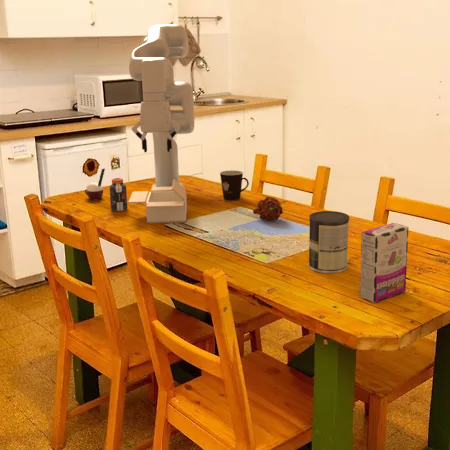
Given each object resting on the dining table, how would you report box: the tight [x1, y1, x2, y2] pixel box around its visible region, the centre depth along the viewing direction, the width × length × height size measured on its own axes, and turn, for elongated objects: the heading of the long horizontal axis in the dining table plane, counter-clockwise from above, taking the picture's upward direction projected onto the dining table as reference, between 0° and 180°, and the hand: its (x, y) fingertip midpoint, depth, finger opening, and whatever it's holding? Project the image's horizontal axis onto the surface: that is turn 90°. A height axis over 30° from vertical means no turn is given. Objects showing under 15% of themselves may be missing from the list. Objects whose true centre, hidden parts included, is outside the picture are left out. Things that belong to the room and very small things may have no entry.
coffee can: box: [308, 210, 350, 274], centre depth 168 cm, size 10×10×14 cm
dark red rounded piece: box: [252, 196, 284, 222], centre depth 214 cm, size 8×8×12 cm
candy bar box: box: [359, 222, 409, 304], centre depth 149 cm, size 11×5×16 cm, turn 126°
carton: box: [127, 185, 188, 224], centre depth 219 cm, size 28×19×7 cm
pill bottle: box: [109, 177, 128, 212], centre depth 229 cm, size 6×6×11 cm
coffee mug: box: [219, 169, 250, 202], centre depth 241 cm, size 12×9×10 cm
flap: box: [172, 179, 187, 200], centre depth 218 cm, size 15×1×6 cm
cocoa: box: [84, 168, 106, 200], centre depth 245 cm, size 10×6×12 cm, turn 43°
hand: (157, 151), depth 214 cm, fingers open, 7 cm apart
